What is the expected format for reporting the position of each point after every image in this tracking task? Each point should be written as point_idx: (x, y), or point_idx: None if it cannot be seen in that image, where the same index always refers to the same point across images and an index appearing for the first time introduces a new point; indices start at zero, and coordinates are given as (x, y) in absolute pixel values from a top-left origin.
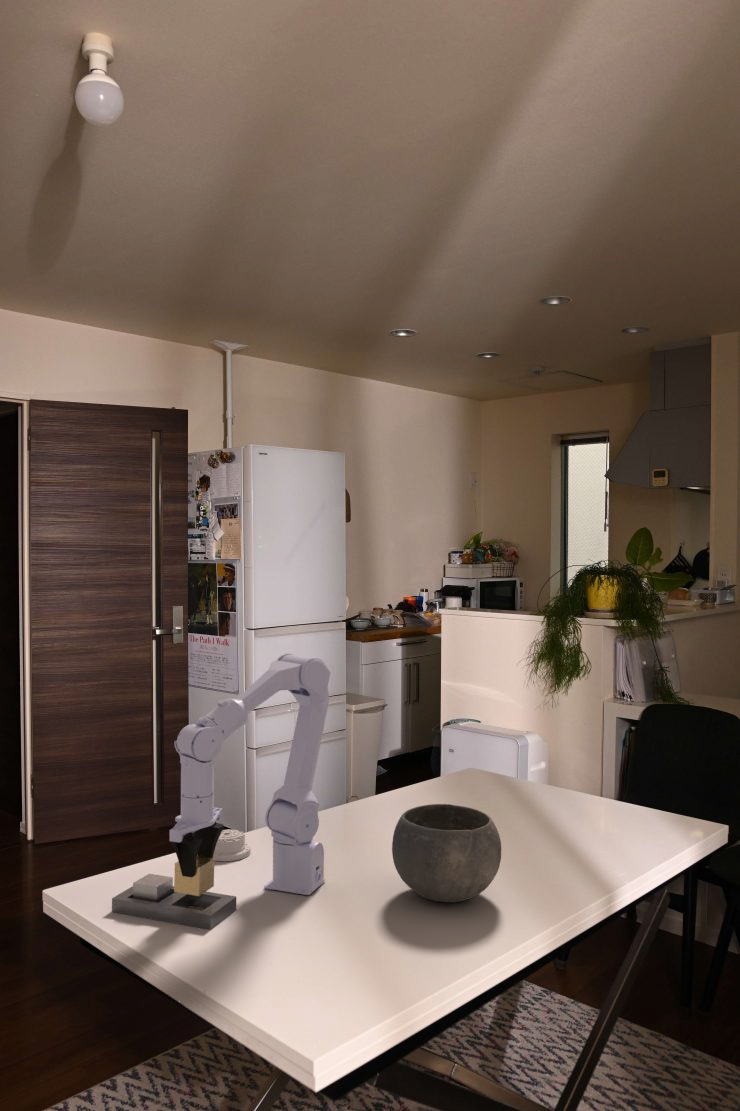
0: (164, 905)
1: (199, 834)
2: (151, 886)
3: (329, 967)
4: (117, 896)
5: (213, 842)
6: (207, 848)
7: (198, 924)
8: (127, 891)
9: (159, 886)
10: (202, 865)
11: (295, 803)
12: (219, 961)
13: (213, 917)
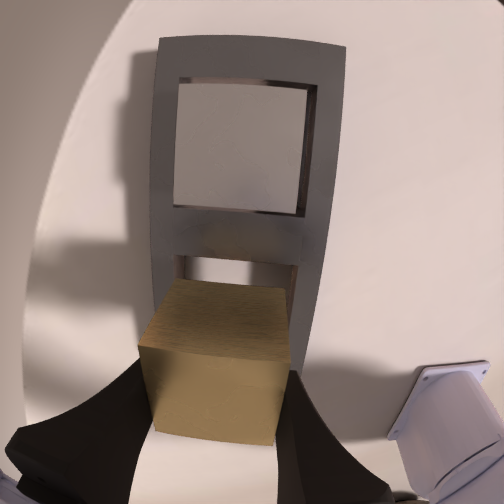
0: (163, 237)
1: (293, 489)
2: (174, 176)
3: (151, 482)
4: (179, 42)
5: (278, 496)
6: (282, 455)
7: None
8: (233, 46)
9: (192, 204)
10: (178, 434)
11: None
12: (82, 392)
13: None
